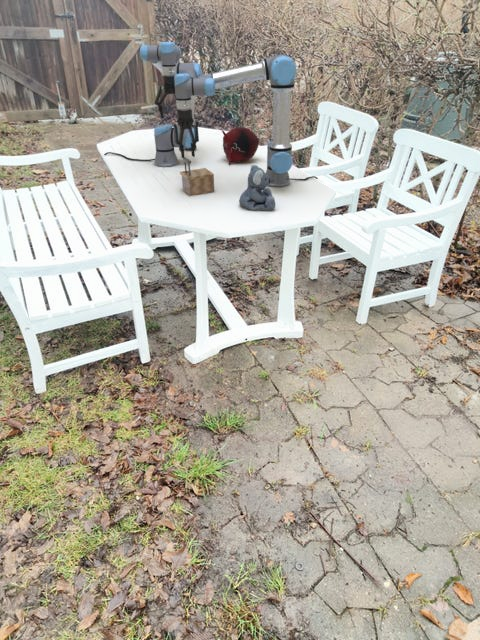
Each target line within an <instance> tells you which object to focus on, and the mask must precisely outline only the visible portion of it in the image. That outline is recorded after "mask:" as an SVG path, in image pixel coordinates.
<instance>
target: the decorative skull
mask: <svg viewBox="0 0 480 640" xmlns="http://www.w3.org/2000/svg"><path fill="white" fill-rule="evenodd" d="M221 132H222V134H223V137H222V149H223V153H224V154H225V157H226V159H227V161H228V165H229V166H231V164H232V162H234V163H235V162H236V163H245V162H247V161H249V160H251V159H252V158H253V157H254V156H255V154H256V153H257V151H258V148H259V145H260V139H259V138H258V136H257V135H256V133H254V132H253V131H252V130H251V129H250V128H248V127H243V126H242V127H241V126H238V127H235V128H233V129H231V130H229V131H227V132H225V130H223V129H222V130H221Z"/></svg>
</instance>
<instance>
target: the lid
mask: <svg viewBox="0 0 480 640" xmlns="http://www.w3.org/2000/svg"><path fill="white" fill-rule="evenodd" d="M184 157H185V158H182V161H183V162H184V170H182V171H179V175H180V176H181V177H182V176H183V177H184V178H186V179H187V180H191V179H197V178H204V177H210V176H214V177H215V174H214V173H213V172H212V171H210V170H209V169H208V168H206V167H204V168H203V167H202V168H196V169H191V164H192V160H190V159H189V158H187V157H186V156H184ZM187 168H188V169H187Z"/></svg>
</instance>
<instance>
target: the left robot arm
mask: <svg viewBox="0 0 480 640" xmlns="http://www.w3.org/2000/svg"><path fill="white" fill-rule="evenodd" d="M139 56H140V58H141V61H142V62H150V63H151V64H152V65H153V67H155V68H156V69H157V70H158V71H159V72H160V75H161V76H162V79H163V80H162V81H163V85H158V86H157V93H156V96H155V99H154V102H153V104H154V105H155V106H157V110H158V111H157V112H159V113H160V114H159V116H160V119H164V111H163V110H164V109H163V105H162V104H163V103H164V101H165V100H166V97H167V96H168V95H176V94H175V80H174V76H175V75H176V74H189V75H190V78H193V79H194V78H198V77H199V76H200V75H202V74H203V71H202V67H201V65H200V63H198V62H177V61H178V60H179V59H180V58H181V57H182V50H181V48H180V46H178V45H176V44H175V43H174V42H173V41H162V42H160V44H159V45H158V44H156V45H154V44H153V45H151V44H146V45H141V46H140V48H139ZM163 90H164V91H163ZM162 91H163V93H162ZM196 98H197V95H196V96H191V103H192V108H191V109H192V118H193V120H194V119H195V107H196ZM194 121H195V120H194ZM191 127H192V131H193V135H194V138H195V133H194V124H192V126H191ZM177 129H178V141H179V135H180V126H179V125H178V127H177ZM153 133H154V134H153V136H154V145H155V155H154V158H150V159H142V158H141V159H139V158H131V157H127V156H126V155H125V154H122V153H118V152H117V153H116V152H112V151H108V152H105V153H104V154H103V156H106V155H109V154H111V155H116V156H121V157H122V158H125V159H126V160H129V161H138V162H153V161H154V165H155V166H157V167H163V168H164V167H165V168H167V167H168V168H169V167H174V166H177V165H178V164H179V159H178V157H177V153H176V151H175V148H177V149H179V145H177V144H176V143H175V138H174V128H173V125H172V124H163V125H159V126H156V127H155V128H154V129H153ZM191 143H192V140H191V137H190V134H189V131H188V129H185V130H184V134H183V141H182V145H184V148H191Z"/></svg>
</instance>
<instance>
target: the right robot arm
mask: <svg viewBox="0 0 480 640" xmlns="http://www.w3.org/2000/svg"><path fill="white" fill-rule="evenodd" d="M296 76H297V65H296V63H295V61H294V59H293V58H291V57H290V56H288V55H286V54H284V53H281V54H275V55H274V56H271V57H267V58H263V59H262V60H261V62H256V63H252V64H247V65H242V66H238V67H233V68H229V69H224V70H220V71H216V72H215V71H214V72H212V73H211V72H210V73H202V75H200V76H199V77H198V78H194V79H193V78H190V75H189V74H176V75H175V76H174V80H175V94H174V95H175V102H176V103H175V105H176V109H177V110H176V117H177V120H176V122H174V123H172V124H171V125H172V128H174V138H175V143H176V144H177V145H179V148H178V150H179V152H180V155H181V158H182V159H183V158H185V157H186V156H185V149H184V145H182V141H183V134H184V130H185V129H188V131H189V134H190V137H191V140H192V143H191V149H190V154H191V157H193V158H195V157H196V153H195V151H196V150H197V149H196V147H197V143H198V142H200V135H199V124H200V123H199V121H198V120H193V118H192V109H191V108H192V103H191V96H196V97H197V96H208V97H209V96H214V95H215V94H216V90H218V89H224V88H229V87H233V86H237V85H241V84H246V83H252V82H256V81H260V80H264V81H265V82H266V81H270V89H271V91H272V93H273V94H272V95H273V102H272V104H273V105H272V140H269V141H268V142H267V146H266V148H267V151H266V152H267V153H266V171H265V173H266V174H267V177H268V178H269V179H270V183H269V184H268V185H267V187H273V188H283V187H286V186H288V185H290V184H291V181H307V180H308V179H313V178H314V179H316V180H319V178H318V177H317V176H314V175H313V176H307V177H305V178H290V174H289V171H290V170H291V168H292V167H293V161H294V160H293V157H292V153H293V152H292V151H293V145H292V143H290V133H291V131H290V129H291V126H290V125H291V105H292V104H291V103H292V101H291V100H292V98H291V97H292V91H293V89H295V80H296V79H295V78H296ZM192 124H193V125H194V133H195V138H194V135H193V131H192V127H191V126H192ZM178 125H179V126H180V135H179V141H178V129H177V127H178Z"/></svg>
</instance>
